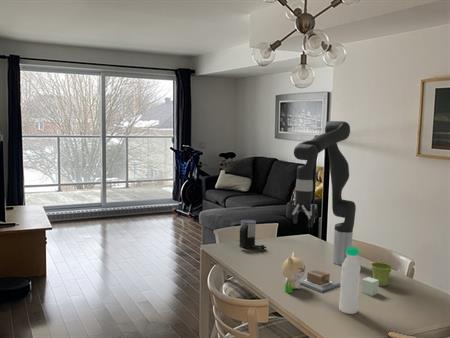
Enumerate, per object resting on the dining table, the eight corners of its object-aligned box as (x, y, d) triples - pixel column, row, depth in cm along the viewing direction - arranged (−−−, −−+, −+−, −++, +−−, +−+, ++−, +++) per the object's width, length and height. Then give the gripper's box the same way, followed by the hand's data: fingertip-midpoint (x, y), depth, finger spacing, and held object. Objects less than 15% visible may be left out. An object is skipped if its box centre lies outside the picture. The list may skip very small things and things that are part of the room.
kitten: (300, 295, 188) (302, 261, 187) (277, 291, 192) (278, 257, 190) (306, 284, 202) (308, 251, 201) (284, 280, 206) (286, 248, 204)
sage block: (367, 290, 198) (368, 276, 197) (378, 293, 194) (379, 280, 193) (361, 292, 194) (362, 279, 194) (371, 296, 191) (372, 282, 190)
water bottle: (336, 307, 178) (340, 245, 175) (353, 307, 178) (357, 245, 176) (342, 314, 171) (346, 250, 168) (360, 314, 172) (364, 251, 169)
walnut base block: (316, 277, 207) (317, 269, 207) (329, 282, 202) (329, 273, 202) (307, 281, 203) (307, 272, 202) (319, 285, 197) (320, 276, 197)
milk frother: (240, 243, 266) (241, 218, 264) (267, 245, 264) (268, 220, 262) (237, 250, 252) (238, 224, 250) (265, 252, 250) (266, 226, 248)
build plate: (315, 276, 212) (315, 273, 212) (340, 285, 202) (340, 282, 202) (295, 282, 203) (296, 279, 203) (321, 292, 193) (321, 289, 193)
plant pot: (390, 282, 209) (392, 264, 208) (391, 289, 200) (392, 270, 199) (369, 279, 212) (371, 261, 211) (369, 285, 203) (370, 267, 202)
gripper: (322, 190, 196) (320, 227, 198) (297, 186, 207) (295, 220, 209) (311, 192, 191) (309, 229, 193) (286, 187, 202) (284, 222, 204)
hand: (302, 224), depth 201 cm, fingers open, 8 cm apart
